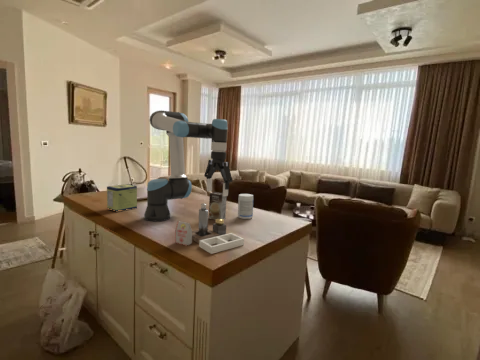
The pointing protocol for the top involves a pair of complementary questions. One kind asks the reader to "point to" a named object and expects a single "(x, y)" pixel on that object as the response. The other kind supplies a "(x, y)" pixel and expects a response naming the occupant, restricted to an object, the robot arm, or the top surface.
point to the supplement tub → (245, 206)
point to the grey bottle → (203, 221)
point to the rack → (221, 243)
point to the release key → (219, 221)
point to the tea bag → (183, 233)
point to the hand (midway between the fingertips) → (217, 193)
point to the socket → (210, 233)
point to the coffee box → (217, 206)
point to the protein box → (121, 197)
